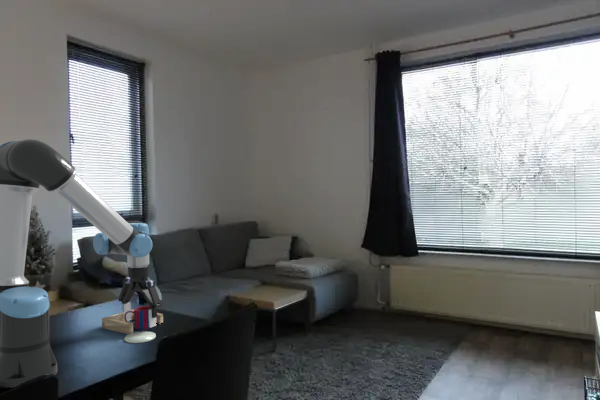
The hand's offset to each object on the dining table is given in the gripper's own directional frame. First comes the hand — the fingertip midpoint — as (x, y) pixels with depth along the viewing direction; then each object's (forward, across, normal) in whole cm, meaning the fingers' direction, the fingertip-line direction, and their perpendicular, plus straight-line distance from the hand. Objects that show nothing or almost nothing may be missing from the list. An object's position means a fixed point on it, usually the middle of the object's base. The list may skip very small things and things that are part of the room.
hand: (139, 323), depth 164 cm
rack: (+1, +4, 0) cm, 4 cm away
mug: (+1, 0, 0) cm, 1 cm away
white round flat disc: (+1, -10, +8) cm, 13 cm away
